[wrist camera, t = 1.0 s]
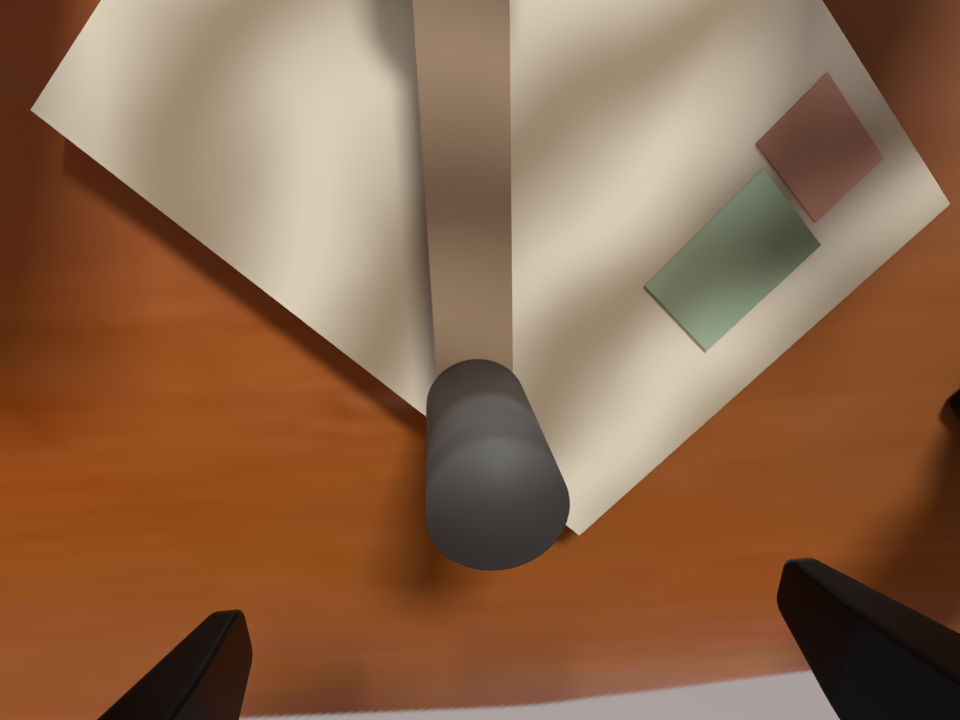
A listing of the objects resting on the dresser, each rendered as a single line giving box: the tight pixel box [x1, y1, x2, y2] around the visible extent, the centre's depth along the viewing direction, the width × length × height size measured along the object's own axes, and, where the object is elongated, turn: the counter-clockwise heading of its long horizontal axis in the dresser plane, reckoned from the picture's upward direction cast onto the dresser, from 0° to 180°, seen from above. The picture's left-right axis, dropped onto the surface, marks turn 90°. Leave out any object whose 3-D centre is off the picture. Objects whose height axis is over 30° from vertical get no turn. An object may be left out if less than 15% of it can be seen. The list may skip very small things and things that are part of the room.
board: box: [31, 0, 950, 535], centre depth 16 cm, size 23×18×2 cm
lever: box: [412, 0, 570, 570], centre depth 11 cm, size 20×4×7 cm, turn 2°
